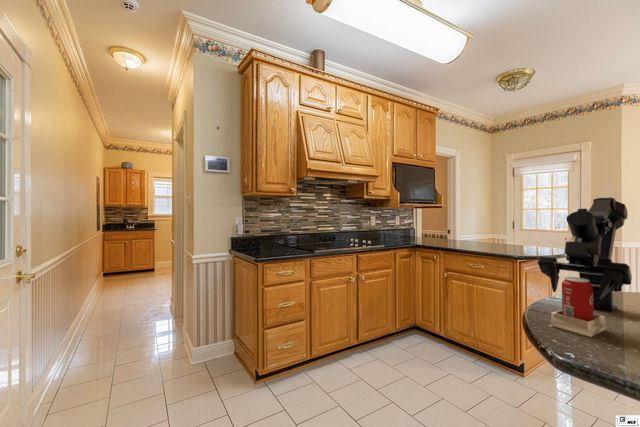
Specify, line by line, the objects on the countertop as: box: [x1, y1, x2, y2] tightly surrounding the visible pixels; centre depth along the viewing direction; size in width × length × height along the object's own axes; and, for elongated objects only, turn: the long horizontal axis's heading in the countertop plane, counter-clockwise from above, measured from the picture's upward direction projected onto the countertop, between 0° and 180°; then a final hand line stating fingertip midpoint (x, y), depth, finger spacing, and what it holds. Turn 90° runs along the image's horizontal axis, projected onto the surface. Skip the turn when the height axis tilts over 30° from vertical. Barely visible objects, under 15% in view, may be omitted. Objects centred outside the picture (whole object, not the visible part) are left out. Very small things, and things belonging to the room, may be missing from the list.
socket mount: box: [550, 308, 606, 338], centre depth 78 cm, size 8×8×4 cm
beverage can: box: [561, 276, 595, 322], centre depth 78 cm, size 6×6×12 cm
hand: (575, 294), depth 77 cm, fingers open, 9 cm apart
